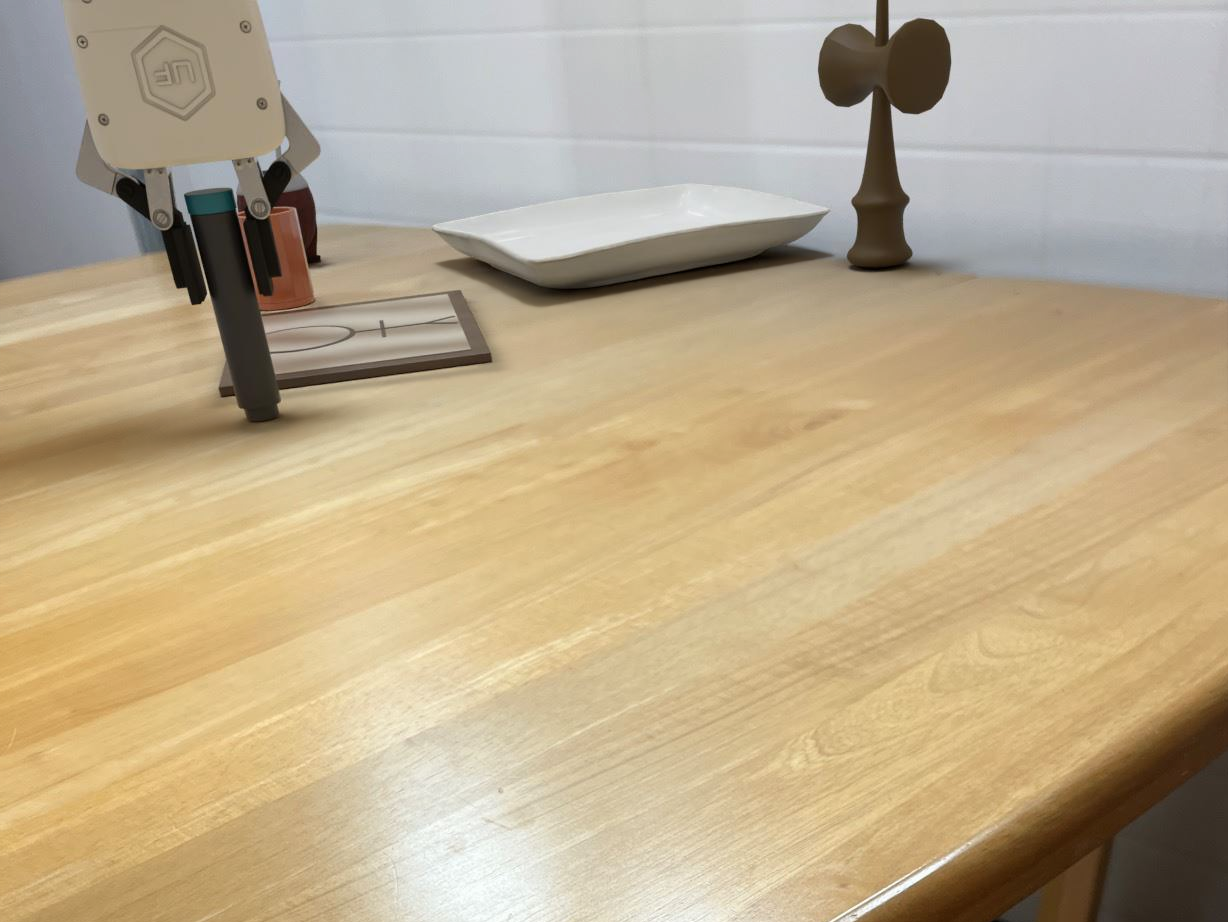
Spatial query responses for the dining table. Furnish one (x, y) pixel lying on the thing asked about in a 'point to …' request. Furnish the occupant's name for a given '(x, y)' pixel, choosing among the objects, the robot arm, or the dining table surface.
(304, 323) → the framed picture
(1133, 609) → the dining table surface
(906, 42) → the kendama
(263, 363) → the marker
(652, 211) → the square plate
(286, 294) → the pen cup
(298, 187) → the mate gourd
